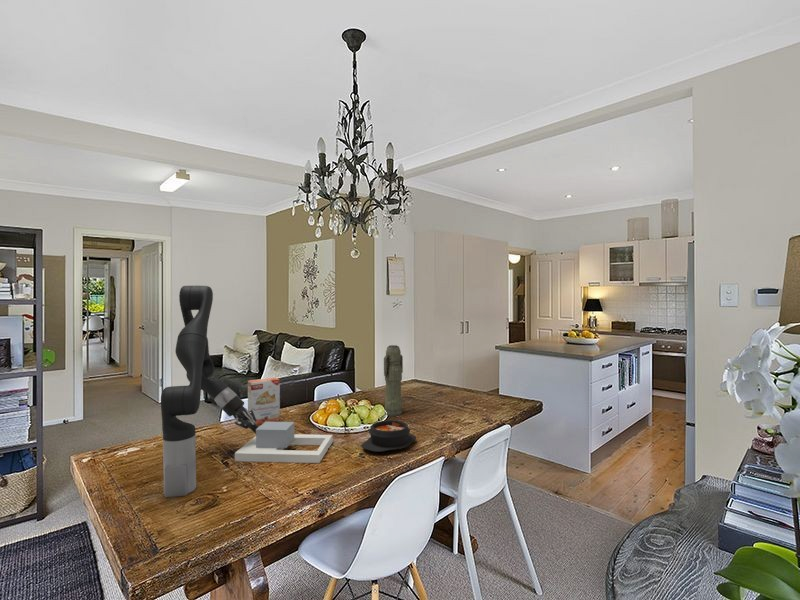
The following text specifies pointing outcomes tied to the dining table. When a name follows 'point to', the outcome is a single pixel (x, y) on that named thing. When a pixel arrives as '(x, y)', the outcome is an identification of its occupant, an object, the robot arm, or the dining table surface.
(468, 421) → the dining table surface
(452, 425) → the dining table surface
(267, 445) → the slate block
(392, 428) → the casserole
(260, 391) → the cracker box
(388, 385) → the stone statue
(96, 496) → the dining table surface
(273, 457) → the hole deck
